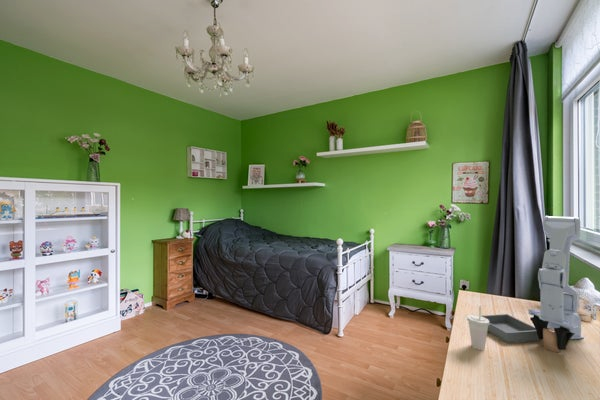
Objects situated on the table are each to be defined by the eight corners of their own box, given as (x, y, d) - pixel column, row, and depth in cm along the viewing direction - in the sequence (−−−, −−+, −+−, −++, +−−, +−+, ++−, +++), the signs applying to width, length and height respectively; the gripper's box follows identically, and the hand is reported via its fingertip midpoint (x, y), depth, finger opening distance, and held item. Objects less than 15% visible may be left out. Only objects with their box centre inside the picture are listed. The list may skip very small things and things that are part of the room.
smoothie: (493, 353, 89) (493, 310, 89) (471, 351, 90) (471, 309, 90) (484, 343, 95) (484, 303, 95) (464, 341, 96) (464, 301, 96)
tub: (507, 322, 111) (507, 314, 111) (541, 340, 97) (541, 330, 97) (476, 324, 109) (476, 315, 109) (506, 343, 95) (506, 333, 95)
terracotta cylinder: (550, 344, 94) (550, 327, 94) (564, 351, 90) (564, 333, 90) (539, 345, 93) (539, 328, 93) (552, 352, 89) (552, 334, 89)
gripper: (521, 296, 98) (521, 334, 98) (565, 313, 84) (565, 357, 84) (538, 296, 99) (538, 333, 99) (584, 312, 85) (584, 355, 85)
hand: (551, 344), depth 91 cm, fingers open, 6 cm apart
